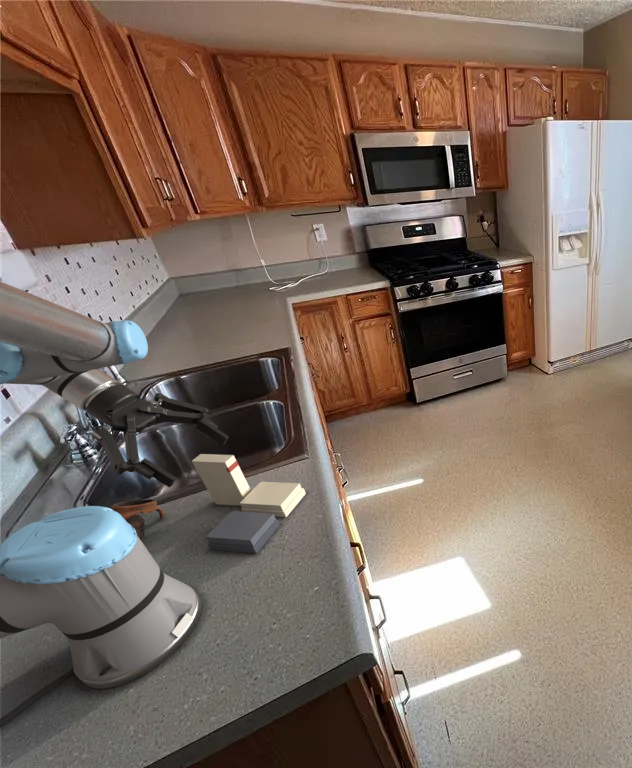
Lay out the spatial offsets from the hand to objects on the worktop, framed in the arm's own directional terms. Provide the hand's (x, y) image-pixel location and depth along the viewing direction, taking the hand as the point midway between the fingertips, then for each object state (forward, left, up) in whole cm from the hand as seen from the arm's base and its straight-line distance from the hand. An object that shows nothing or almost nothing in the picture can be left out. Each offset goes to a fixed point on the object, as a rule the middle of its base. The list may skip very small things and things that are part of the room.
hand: (201, 460), depth 86 cm
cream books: (+7, -11, -11) cm, 17 cm away
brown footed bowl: (-14, +5, -11) cm, 19 cm away
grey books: (-1, -16, -11) cm, 19 cm away
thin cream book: (+2, -2, -11) cm, 12 cm away
